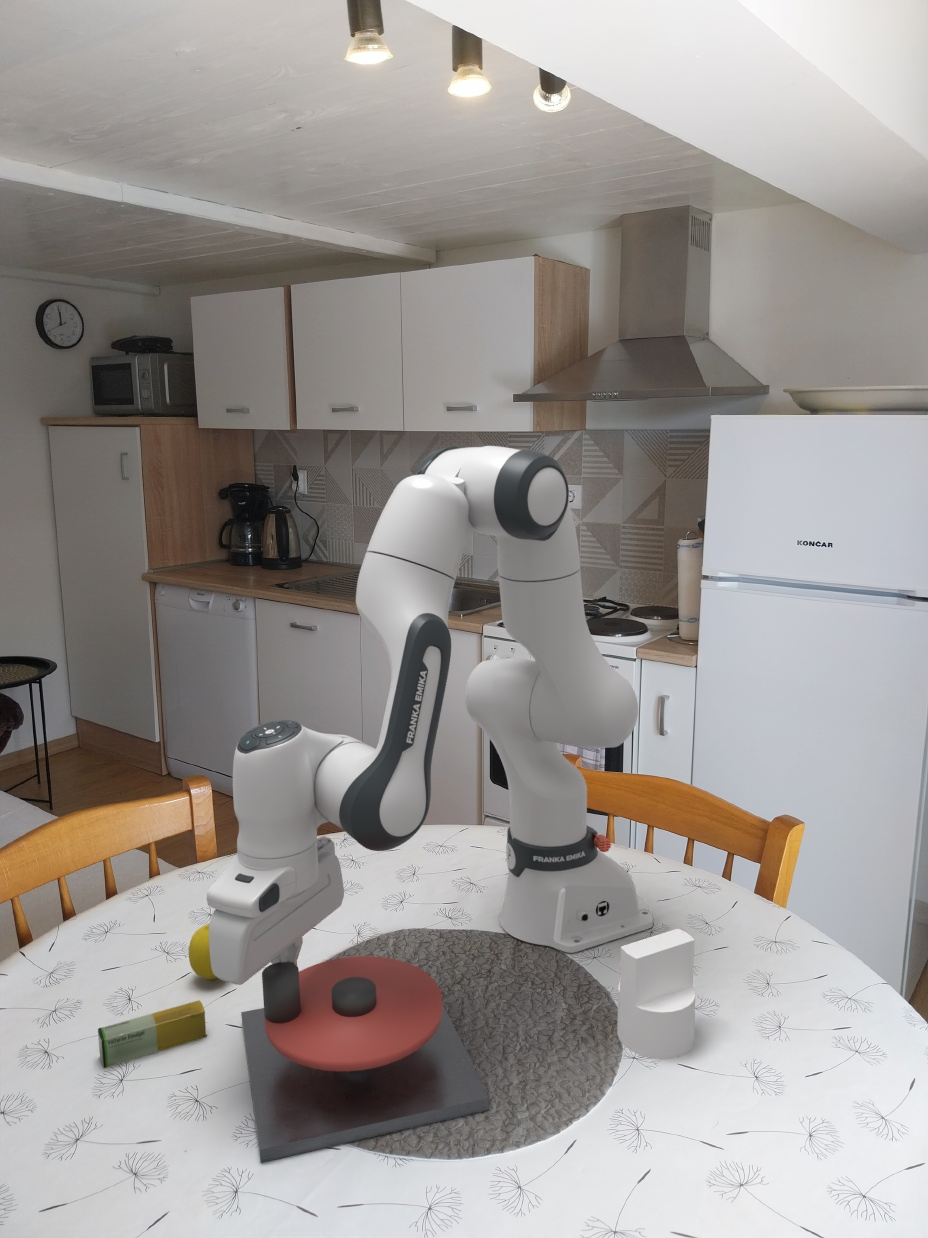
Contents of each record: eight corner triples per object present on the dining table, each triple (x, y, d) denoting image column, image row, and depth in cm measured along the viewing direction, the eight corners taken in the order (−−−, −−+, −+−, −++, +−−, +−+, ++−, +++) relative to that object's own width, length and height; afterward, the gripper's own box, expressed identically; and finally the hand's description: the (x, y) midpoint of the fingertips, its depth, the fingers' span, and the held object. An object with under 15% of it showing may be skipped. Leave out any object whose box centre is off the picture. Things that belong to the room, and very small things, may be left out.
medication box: (102, 1071, 109) (99, 1040, 109) (98, 1057, 112) (96, 1027, 111) (207, 1039, 115) (205, 1009, 114) (202, 1026, 117) (200, 997, 117)
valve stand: (430, 987, 124) (429, 945, 123) (489, 1110, 102) (488, 1059, 101) (241, 1023, 118) (238, 978, 116) (260, 1163, 95) (257, 1109, 94)
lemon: (222, 993, 124) (218, 937, 122) (183, 989, 125) (178, 933, 123) (240, 970, 129) (237, 916, 128) (202, 966, 130) (198, 912, 129)
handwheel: (428, 956, 120) (427, 911, 119) (456, 1057, 101) (456, 1004, 99) (266, 975, 116) (263, 928, 115) (263, 1083, 97) (260, 1028, 96)
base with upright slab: (648, 1068, 108) (651, 972, 106) (602, 1025, 116) (603, 935, 114) (709, 1044, 112) (713, 951, 110) (660, 1004, 120) (663, 917, 118)
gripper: (310, 826, 118) (316, 928, 121) (194, 899, 100) (205, 1017, 103) (353, 834, 115) (358, 939, 118) (242, 912, 97) (251, 1033, 100)
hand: (286, 976), depth 110 cm, fingers closed
